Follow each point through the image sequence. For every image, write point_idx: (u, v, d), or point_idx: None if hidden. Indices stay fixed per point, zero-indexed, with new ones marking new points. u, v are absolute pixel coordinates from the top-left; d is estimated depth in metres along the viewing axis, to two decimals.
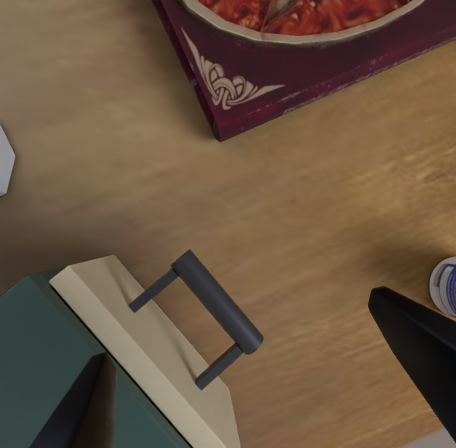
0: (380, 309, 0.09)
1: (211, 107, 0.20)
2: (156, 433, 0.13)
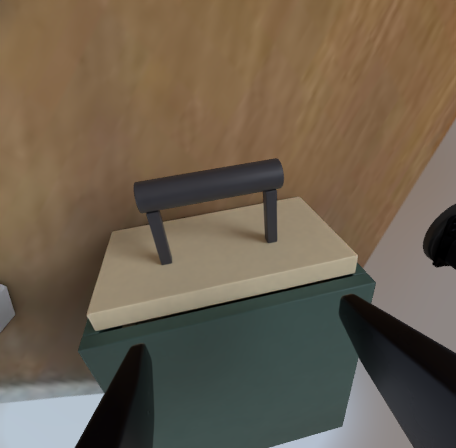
0: (348, 317, 0.09)
1: None
2: (274, 310, 0.14)
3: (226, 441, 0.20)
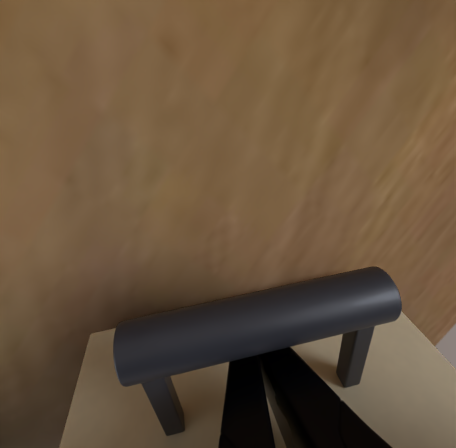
0: None
1: None
2: None
3: None
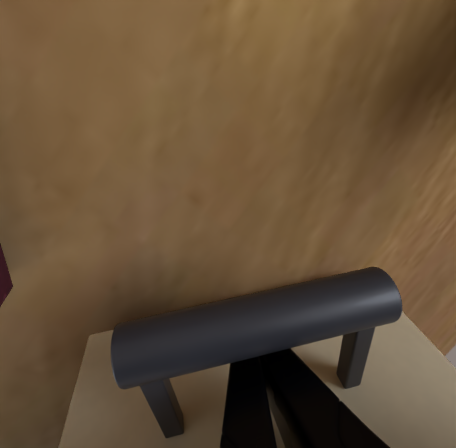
0: None
1: None
2: None
3: None
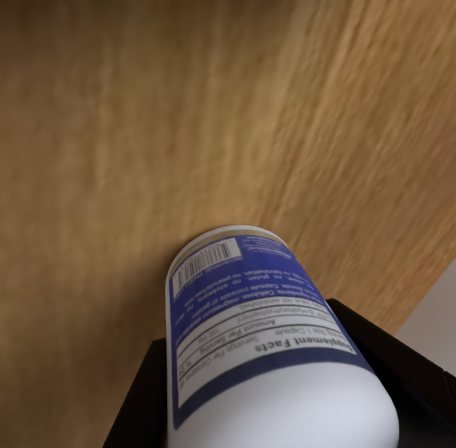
0: None
1: None
2: None
3: None
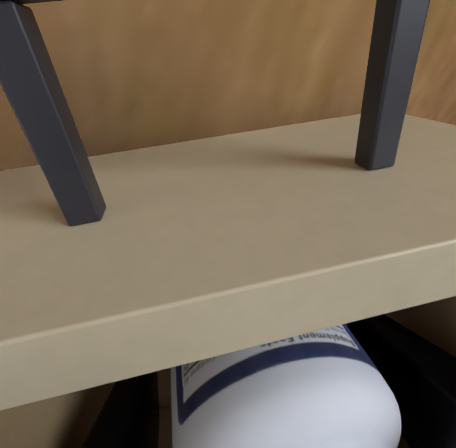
0: None
1: None
2: None
3: None
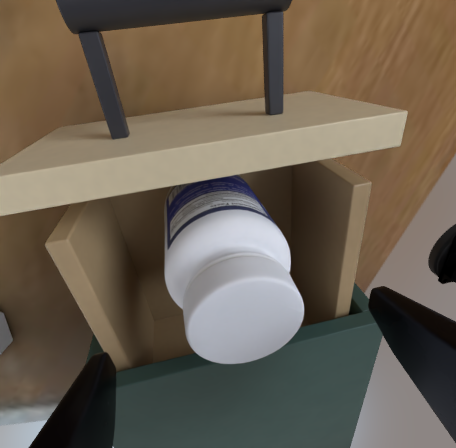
0: (380, 309, 0.09)
1: None
2: (281, 351, 0.13)
3: None
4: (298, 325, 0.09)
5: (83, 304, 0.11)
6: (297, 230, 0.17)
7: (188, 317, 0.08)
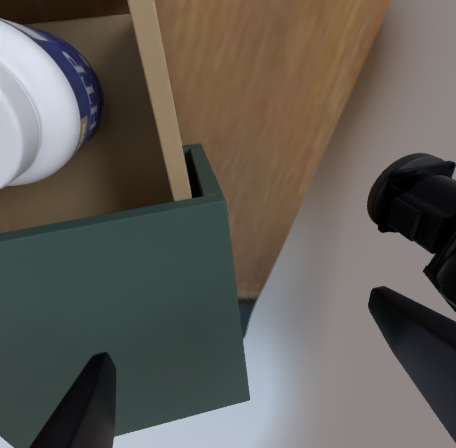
0: (380, 309, 0.09)
1: None
2: (89, 233, 0.11)
3: None
4: (14, 138, 0.07)
5: None
6: None
7: None
